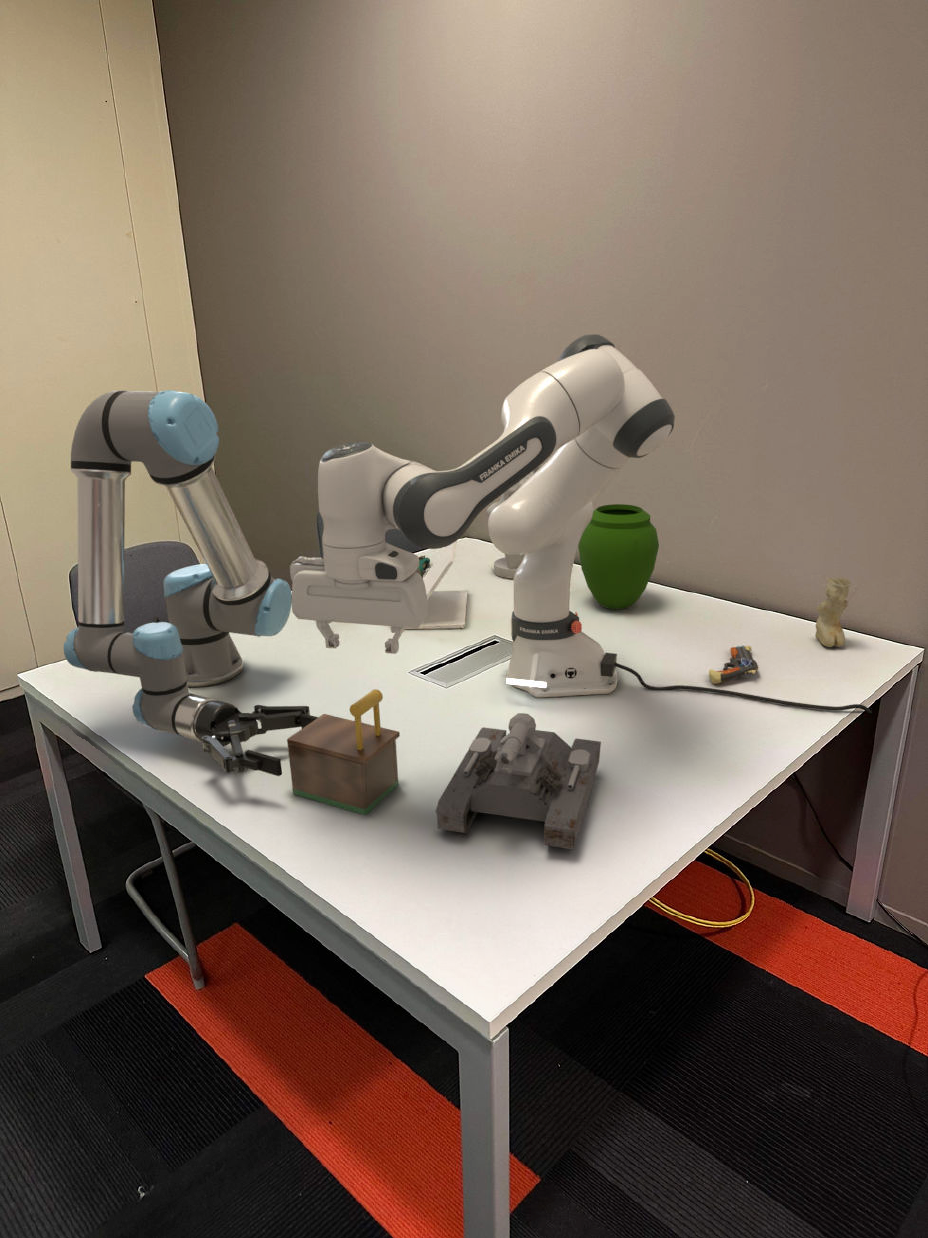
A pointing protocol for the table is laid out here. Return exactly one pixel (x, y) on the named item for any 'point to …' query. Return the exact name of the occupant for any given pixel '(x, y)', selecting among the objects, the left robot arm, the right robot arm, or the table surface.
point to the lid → (348, 733)
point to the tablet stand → (443, 596)
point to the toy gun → (735, 665)
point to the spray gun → (422, 564)
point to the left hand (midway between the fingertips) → (307, 747)
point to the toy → (522, 780)
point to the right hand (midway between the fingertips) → (362, 649)
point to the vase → (618, 554)
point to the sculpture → (832, 613)
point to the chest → (343, 778)
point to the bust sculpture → (510, 562)
